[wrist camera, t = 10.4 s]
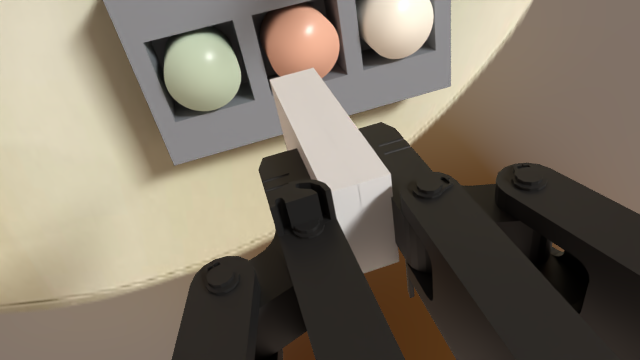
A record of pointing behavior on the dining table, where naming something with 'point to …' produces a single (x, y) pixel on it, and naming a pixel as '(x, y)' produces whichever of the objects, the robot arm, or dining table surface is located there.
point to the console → (266, 67)
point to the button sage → (201, 69)
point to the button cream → (394, 25)
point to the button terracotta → (299, 40)
